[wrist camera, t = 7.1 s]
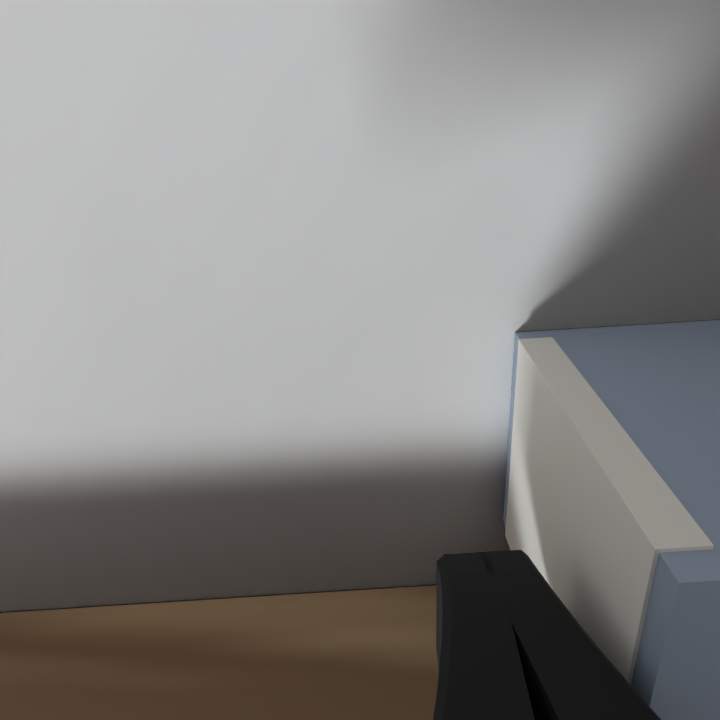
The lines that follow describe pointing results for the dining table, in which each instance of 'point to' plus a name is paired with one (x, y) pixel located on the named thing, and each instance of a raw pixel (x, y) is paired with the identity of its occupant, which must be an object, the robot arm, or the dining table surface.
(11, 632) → the brown wooden rack
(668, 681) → the boxed book
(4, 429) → the dining table surface
